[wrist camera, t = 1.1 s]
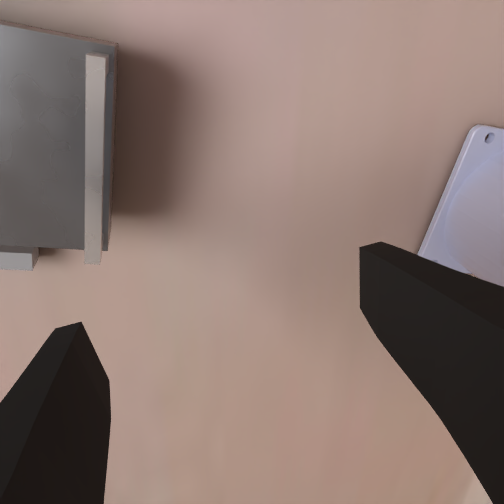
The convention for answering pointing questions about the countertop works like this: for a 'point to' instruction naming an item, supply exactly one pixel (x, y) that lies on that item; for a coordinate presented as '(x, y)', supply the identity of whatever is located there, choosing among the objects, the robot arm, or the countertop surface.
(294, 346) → the countertop surface
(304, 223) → the countertop surface
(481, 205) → the robot arm
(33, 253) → the dock
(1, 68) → the trolley
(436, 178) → the countertop surface
